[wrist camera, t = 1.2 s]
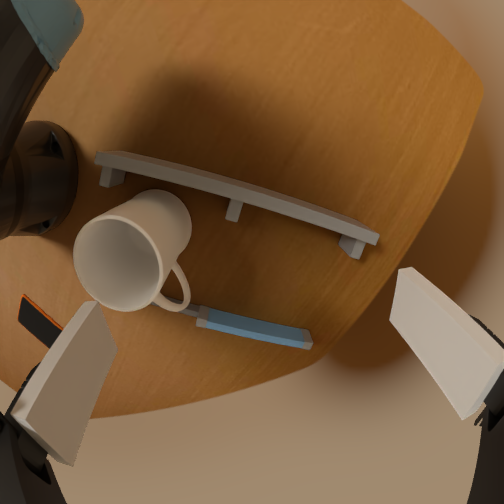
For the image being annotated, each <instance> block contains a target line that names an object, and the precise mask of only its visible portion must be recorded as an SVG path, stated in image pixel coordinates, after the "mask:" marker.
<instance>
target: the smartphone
mask: <svg viewBox="0 0 504 504" xmlns="http://www.w3.org/2000/svg"><path fill="white" fill-rule="evenodd" d="M17 319H18V321H19V323H20V324H21V325H23V326H24V327H25V328H26V329H27V330H28V331H29V332H30V333H31V334H33V335H34V336H35V337H36V338H37V339H38V340H39V341H41V342H42V343H43V344H44V345H45V346H47V347H48V348H49V349H50V348H51V347H52V345H53V344H54V342H55V341H56V339H57V338H58V337H59V335H60V334H61V332H62V331H63V330H64V329H63V328H62V327H61V326H60V325H59V324H57V323H56V322H55V321H54V320H53V319H52V318H51V317H50V316H49V315H47V314H46V313H44V311H43V310H42V309H41V308H39V307H38V306H37V305H36V304H35V303H34V302H33V301H31V300H30V299H29V298H28V297H27V296H26V295H25V294H23V295H22V296H21V301H20V306H19V311H18V317H17Z"/></svg>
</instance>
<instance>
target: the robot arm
mask: <svg viewBox="0 0 504 504" xmlns="http://www.w3.org/2000/svg"><path fill="white" fill-rule="evenodd" d="M83 24H84V17H83V13H82V11H81V9H80V7H79V6H78V4H77V3H76V1H75V0H0V240H2V239H4V238H6V237H8V236H37V235H41V234H44V233H46V232H48V231H49V230H51V229H53V228H55V227H57V226H58V225H59V224H60V223H61V222H62V221H63V220H64V219H65V217H66V216H67V215H68V213H69V211H70V209H71V207H72V204H73V202H74V199H75V195H76V190H77V183H78V164H77V158H76V153H75V150H74V147H73V144H72V142H71V140H70V138H69V136H68V135H67V133H66V132H65V131H64V130H63V129H62V128H61V127H60V126H58V125H57V124H55V123H53V122H49V121H30V122H26V123H25V121H26V119H27V117H28V115H29V113H30V111H31V109H32V107H33V105H34V104H35V102H36V100H37V98H38V97H39V95H40V93H41V91H42V90H43V88H44V86H45V85H46V83H47V82H48V80H49V79H50V77H51V75H52V74H53V72H54V71H55V72H56V71H57V70H58V69H59V63H60V62H61V60H62V59H63V57H64V56H65V54H66V53H67V51H68V50H69V48H70V47H71V46H72V44H73V43H74V41H75V40H76V39H77V37H78V36H79V34H80V33H81V31H82V28H83ZM390 321H391V323H392V324H393V325H394V327H395V328H396V329H397V330H398V332H399V333H400V334H401V336H402V337H403V338H404V339H405V341H406V342H407V343H408V345H409V346H410V347H411V349H412V350H413V351H414V352H415V354H416V355H417V356H418V358H419V359H420V361H421V362H422V363H423V364H424V366H425V367H426V369H427V370H428V372H429V373H430V374H431V376H432V377H433V378H434V380H435V381H436V382H437V384H438V386H439V387H440V388H441V390H442V391H443V392H444V394H445V396H446V397H447V399H448V400H449V401H450V403H451V404H452V406H453V407H454V409H455V410H456V412H457V413H458V415H459V416H460V418H461V420H463V419H465V418H467V417H469V416H470V415H472V414H474V413H475V412H476V411H477V410H478V408H479V407H480V405H481V404H482V403H483V401H484V402H485V404H486V405H487V406H486V407H485V409H484V410H483V411H482V413H481V414H480V415H479V416H478V418H477V419H476V420H475V423H474V425H475V426H476V425H477V423H479V421H480V420H481V419H482V418H483V420H482V422H481V424H480V425H479V426H482V431H481V439H480V447H479V453H478V459H477V464H476V469H475V474H474V478H473V483H472V487H471V491H470V494H469V498H468V501H467V504H504V343H503V342H502V341H501V340H500V339H499V338H497V336H496V335H493V332H492V331H490V330H489V329H487V327H486V326H485V325H484V324H483V323H482V322H481V321H480V320H479V319H477V318H475V317H473V316H471V315H469V314H467V313H466V312H464V311H463V310H462V309H461V308H460V307H459V306H458V305H457V304H456V303H454V302H453V301H452V300H451V299H450V298H449V297H447V296H446V295H445V294H444V293H443V292H442V291H440V290H439V289H438V288H437V287H436V286H434V285H433V284H432V283H431V282H430V281H428V280H427V279H426V278H425V277H424V276H422V275H421V274H420V273H418V272H417V271H416V270H415V269H414V268H412V267H409V268H404V269H399V271H398V277H397V283H396V289H395V295H394V300H393V305H392V310H391V315H390ZM117 351H118V348H117V346H116V344H115V342H114V339H113V337H112V335H111V332H110V330H109V327H108V325H107V322H106V320H105V317H104V315H103V312H102V310H101V307H100V304H99V301H85V302H84V303H83V304H82V306H81V307H80V308H79V310H78V311H77V312H76V313H75V315H74V316H73V317H72V319H71V320H70V321H69V323H68V324H67V326H66V327H65V328H64V330H63V331H62V332H61V334H60V335H59V337H58V338H57V339H56V341H55V342H54V344H53V345H52V347H51V348H50V350H49V351H48V352H47V354H46V355H45V357H44V358H43V360H42V361H41V362H40V363H39V364H37V365H36V366H35V367H34V368H33V369H32V370H31V371H30V373H29V375H28V376H27V378H26V381H24V383H23V384H22V386H21V388H20V389H19V391H18V392H17V394H16V396H15V398H14V399H13V401H12V403H11V405H10V406H9V408H8V410H7V412H6V413H5V415H3V414H2V413H1V412H0V504H67V503H66V501H65V499H64V497H63V494H62V493H61V490H60V487H59V485H58V482H57V480H56V478H55V475H54V472H53V470H52V467H51V464H50V462H49V461H48V460H47V459H46V457H47V454H49V455H51V456H52V457H53V458H54V459H55V460H56V461H58V462H60V463H63V464H66V465H70V466H74V462H75V459H76V456H77V453H78V450H79V447H80V444H81V441H82V438H83V435H84V432H85V429H86V427H87V424H88V421H89V419H90V416H91V413H92V411H93V408H94V405H95V403H96V400H97V398H98V395H99V393H100V390H101V388H102V386H103V383H104V381H105V378H106V376H107V374H108V371H109V369H110V367H111V364H112V362H113V360H114V358H115V355H116V353H117Z"/></svg>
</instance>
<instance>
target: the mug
mask: <svg viewBox="0 0 504 504" xmlns="http://www.w3.org/2000/svg"><path fill="white" fill-rule="evenodd" d="M191 232H192V223H191V218H190V214H189V212H188V210H187V208H186V206H185V205H184V204H183V202H182V201H181V200H180V199H179V198H178V197H176V196H175V195H173V194H172V193H170V192H167V191H164V190H159V189H151V190H146V191H143V192H141V193H139V194H137V195H136V196H134V197H133V198H132V199H131V200H129V201H127V202H125V203H123V204H121V205H119V206H117V207H115V208H113V209H111V210H109V211H107V212H105V213H103V214H101V215H99V216H97V217H96V218H94V219H92V220H90V221H89V222H88V223H86V224H85V225H84V226H83V227H82V229H81V230H80V232H79V233H78V235H77V237H76V240H75V243H74V249H73V261H74V267H75V271H76V274H77V276H78V278H79V280H80V282H81V284H82V286H83V287H84V288H85V290H86V291H87V292H88V293H89V294H90V295H91V296H92V297H93V298H94V299H95V300H96V301H99V303H101V304H102V305H104V306H106V307H108V308H111V309H113V310H117V311H125V312H128V311H136V310H139V309H142V308H144V307H146V306H147V305H149V304H150V303H151V302H152V301H153V302H154V303H156V304H157V305H159V306H160V307H162V308H164V309H166V310H169V311H173V312H178V311H181V310H183V309H185V308H186V307H187V306H188V304H189V302H190V298H191V293H190V287H189V284H188V281H187V279H186V277H185V274H184V273H183V271H182V269H181V267H180V266H179V264H178V263H177V261H176V260H177V258H178V256H179V254H180V253H181V252H182V251H183V250H184V249H185V248H186V246H187V244H188V242H189V240H190V237H191ZM171 269H172V270H173V271H174V273H175V274H176V276H177V278H178V279H179V281H180V284H181V286H182V289H183V294H184V301H183V303H182V304H176V303H173V302H171V301H169V300H168V299H166V298H165V297H164V296H163V295H162V294H161V293H160V290H161V288H162V286H163V284H164V282H165V280H166V278H167V277H168V275H169V273H170V271H171Z"/></svg>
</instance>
